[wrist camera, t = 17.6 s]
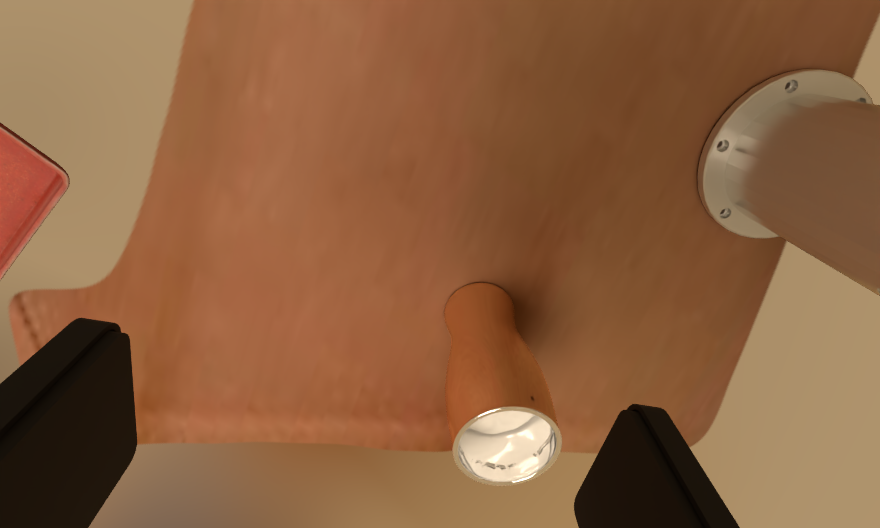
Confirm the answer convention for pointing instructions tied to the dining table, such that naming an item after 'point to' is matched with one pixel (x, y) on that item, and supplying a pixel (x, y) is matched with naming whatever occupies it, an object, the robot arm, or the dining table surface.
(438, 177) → the dining table surface
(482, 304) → the beer glass
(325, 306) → the dining table surface
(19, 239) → the plant saucer
